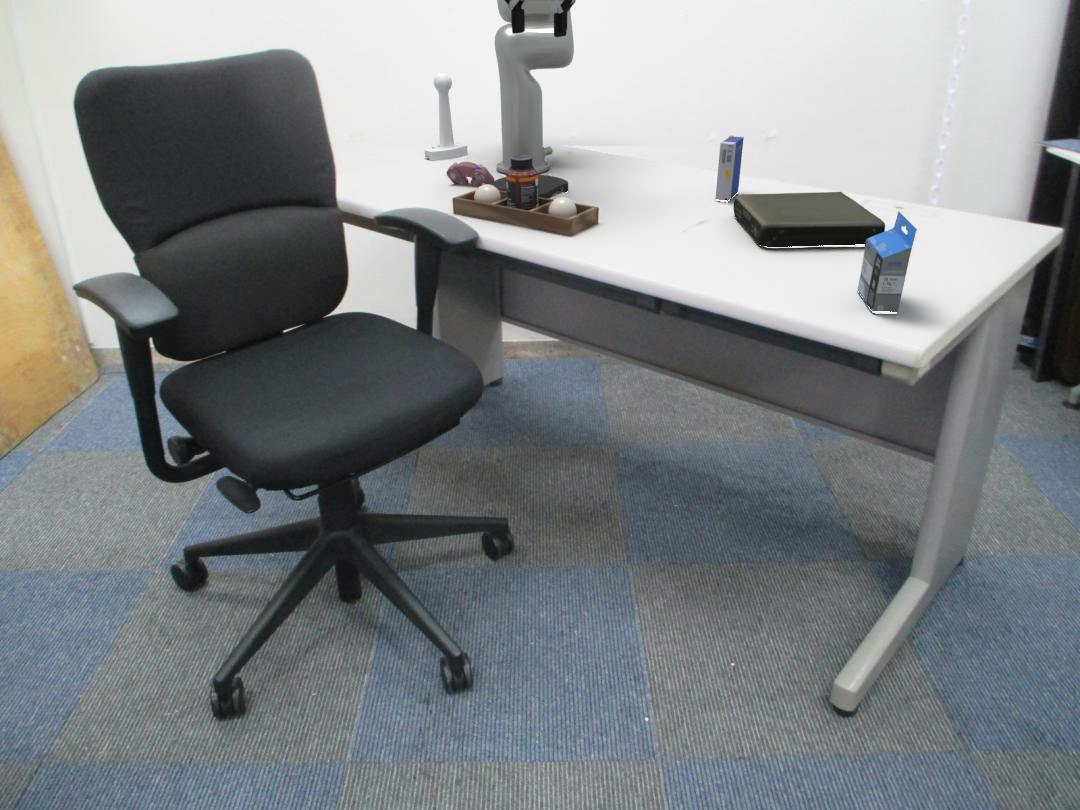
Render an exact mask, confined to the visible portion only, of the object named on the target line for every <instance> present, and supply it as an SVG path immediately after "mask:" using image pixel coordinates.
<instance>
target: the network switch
mask: <svg viewBox="0 0 1080 810" xmlns="http://www.w3.org/2000/svg"><path fill="white" fill-rule="evenodd" d="M733 201H734V202H733V207H732V209H733V214H734V218H735V217H736V218H737V219H738V220H737V219H736V218H735V219H736V220H737V221H738V222H739V223H740V225H742V227H743V226H744V227H745V228H744V227H743V228H744V229H745V230H746V231H747V232H748V234H749V235H750V236H751V237H752V238H753V240H754V242H755V241H756V242H755V244H756V243H758V244H759V245H761V246H767V247H788V246H789V247H790V246H791V247H792V246H819V245H820V246H821V245H822V246H823V245H855V244H866V239H867V238H870V237H872V236H875V235H877V234H880V233H882V232H885V230H886V223H885V222H884V221H883V220H882V219H881V218H880V217H878V216H877V215H875V214H874V213H872V212H871V211H869V210H868V209H866V208H865V207H864V206H863V205H861V204H859V203H858V202H857V201H856V200H854V199H852V198H851V197H850V196H847V195H846V194H845V193H843V192H842V191H827V192H788V193H787V192H786V193H781V192H780V193H750V194H749V193H747V194H746V193H741V194H739V195H736V196H735V197H734V200H733ZM758 244H757V245H758ZM759 245H758V246H759ZM761 246H760V247H761Z"/></svg>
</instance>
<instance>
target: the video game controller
mask: <svg viewBox="0 0 1080 810" xmlns="http://www.w3.org/2000/svg"><path fill="white" fill-rule="evenodd" d="M446 177H447V178H448V179H450V181H451V182H452V184H453V185H455V184H457V185H468V184H469V183H470V186H472V187H473V186H474V187H480V186H482V185H485V184H491V183H492V182H494V181H495V178H494V176H493V174H492V173H490V171H489V170H488V168H486V167H485V166H484V165H483V164H482V163H481V164H478V163H475V162H472V161H461V162H459V163H458V162H453V164H452V165H450V166H449V167H448V168H447V170H446ZM468 178H471V180H469V179H468ZM469 181H470V182H469Z"/></svg>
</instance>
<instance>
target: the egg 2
mask: <svg viewBox="0 0 1080 810" xmlns="http://www.w3.org/2000/svg"><path fill="white" fill-rule="evenodd" d="M574 203H575V202H574V201H573V200H572V199H571V198H568V197H567V196H566V197H565V196H560V197H556V198H555V199H554V200H553V201H552V203H551V204H550V206H549V211H548V213H549V214H550V215H555V216H561V217H566V218H570V217H572V216H574V215H576V214H577V209H576V206H575V204H574Z"/></svg>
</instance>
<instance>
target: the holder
mask: <svg viewBox="0 0 1080 810" xmlns="http://www.w3.org/2000/svg"><path fill="white" fill-rule="evenodd" d="M476 190H477V189H475V190H471V191H469V192H467V193H464V194H460V195H457V196H454V197H452V211H453V212H452V213H453V214H454V215H458V216H463V217H464V216H465V217H467V218H474V219H479V220H484V221H488V222H494V223H499V224H504V225H509V226H514V227H519V228H520V227H521V228H525V229H529V230H535V231H540V232H544V233H545V232H546V233H550V234H556V235H561V236H564V237H570V238H571V237H573V236H574V235H576V234H578V233H580V232H582V231H585V230H587V229H589V228H592V227H595V226H596V225H598V224H599V213H600V207H598V206H593V205H590V204H589V205H588V204H583V203H576V202H574V204H575V206H576V209H577V214H576V215H574V216H572V217H570V218H566V217H561V216H555V215H550V214H549V213H548V211H549V206H550V204H551V203H552V201H553V200H555V199H553V198H552V199H551V198H542V197H538V206H539V207H536V208H534V209H531V210H529V211H528V210H523V209H517V208H512V207H507V191H501V190H499V192H500V195H501V200H499V201H497V202H494V203H491V204H490V203H485V202H479V201H474V194H475V192H476Z"/></svg>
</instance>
